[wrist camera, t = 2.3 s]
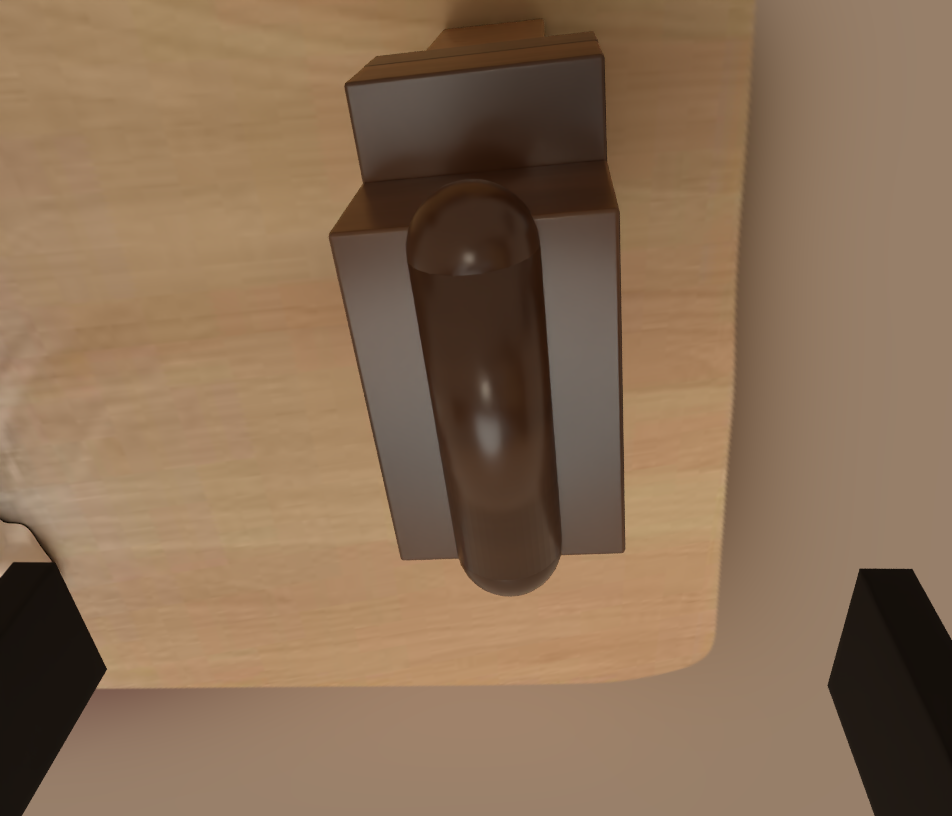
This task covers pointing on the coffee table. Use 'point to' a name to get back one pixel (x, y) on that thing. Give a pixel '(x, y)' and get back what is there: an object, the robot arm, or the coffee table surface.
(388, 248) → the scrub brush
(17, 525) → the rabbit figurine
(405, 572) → the coffee table surface
